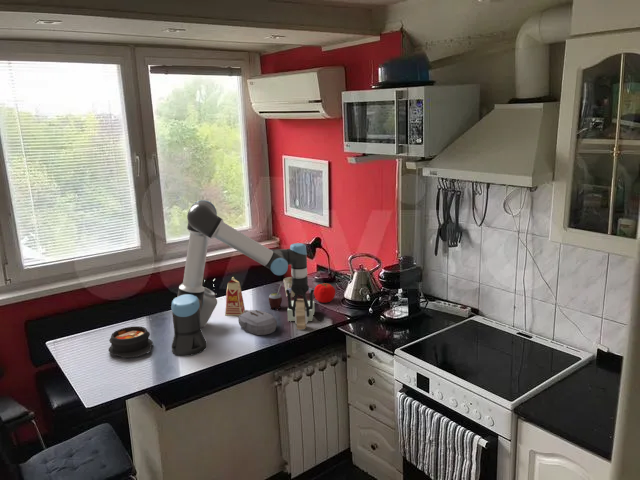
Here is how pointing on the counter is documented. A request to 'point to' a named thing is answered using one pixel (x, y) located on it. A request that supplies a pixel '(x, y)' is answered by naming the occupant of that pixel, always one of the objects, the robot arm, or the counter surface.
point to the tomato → (324, 292)
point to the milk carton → (234, 299)
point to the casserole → (130, 342)
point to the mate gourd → (275, 299)
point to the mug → (288, 285)
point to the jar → (207, 306)
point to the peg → (300, 314)
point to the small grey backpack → (257, 322)
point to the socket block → (290, 312)
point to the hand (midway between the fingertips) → (301, 322)
